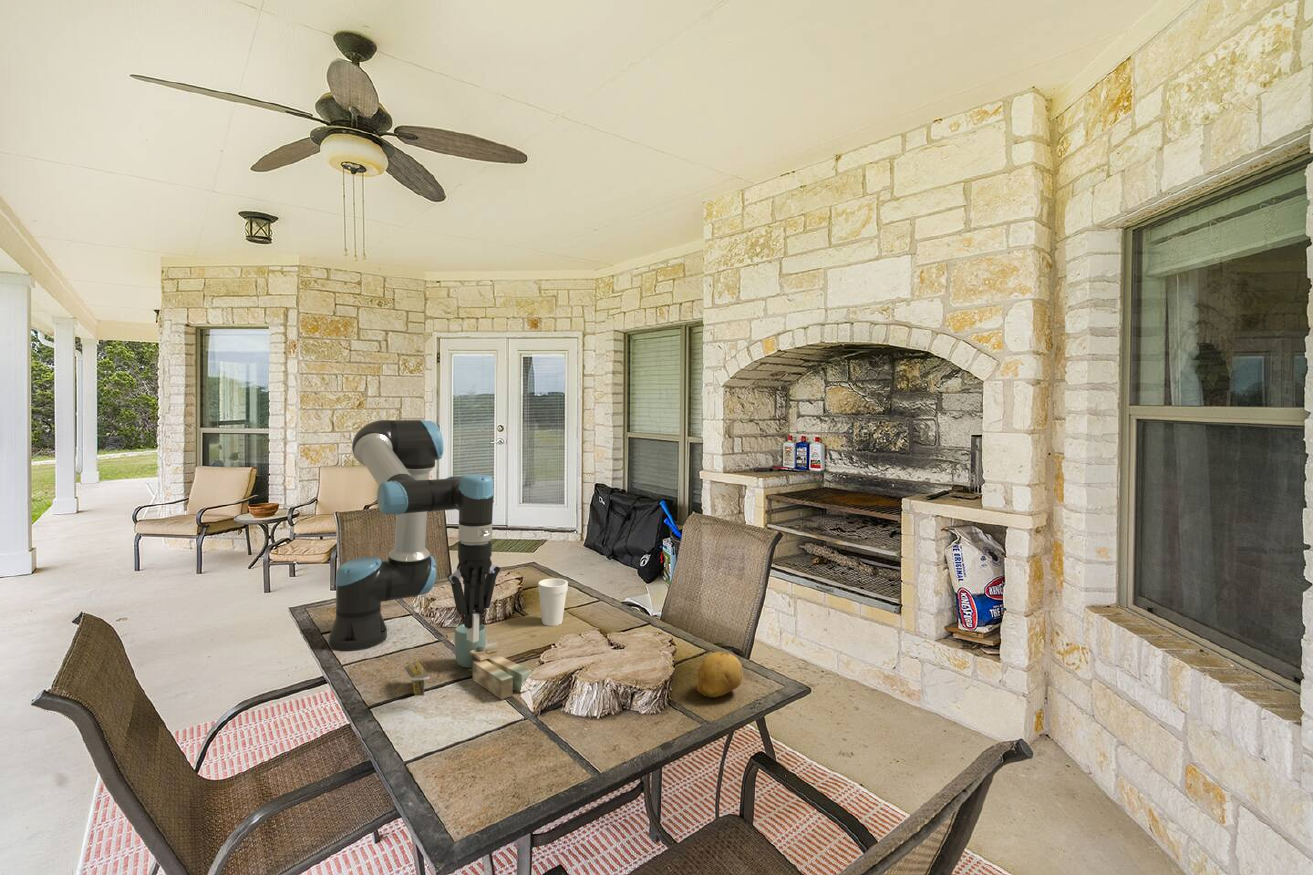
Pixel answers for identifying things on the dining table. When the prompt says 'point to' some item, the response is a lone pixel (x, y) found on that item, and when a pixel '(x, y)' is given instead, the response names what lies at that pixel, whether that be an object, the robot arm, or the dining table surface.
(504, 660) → the tan green block
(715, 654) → the potato
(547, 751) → the dining table surface
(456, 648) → the cup
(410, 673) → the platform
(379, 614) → the robot arm
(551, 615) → the foam cup
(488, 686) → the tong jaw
